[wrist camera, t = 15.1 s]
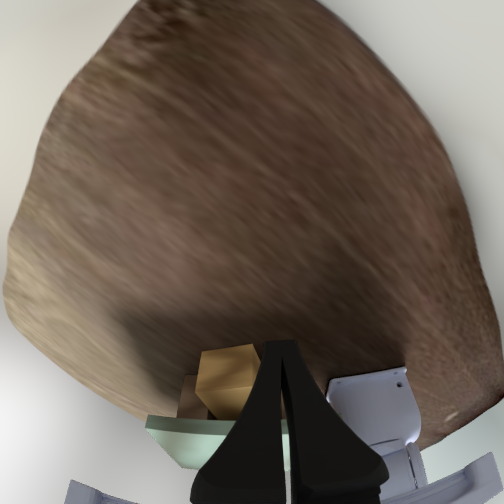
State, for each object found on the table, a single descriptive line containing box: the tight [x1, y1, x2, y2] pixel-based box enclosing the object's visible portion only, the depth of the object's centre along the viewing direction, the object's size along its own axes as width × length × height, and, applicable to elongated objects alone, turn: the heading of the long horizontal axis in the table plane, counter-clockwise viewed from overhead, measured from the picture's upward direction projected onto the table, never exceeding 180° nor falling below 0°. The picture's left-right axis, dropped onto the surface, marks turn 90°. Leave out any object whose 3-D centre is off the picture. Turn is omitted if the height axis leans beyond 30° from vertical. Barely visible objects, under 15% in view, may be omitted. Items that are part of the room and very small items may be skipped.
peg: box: [195, 344, 261, 421], centre depth 26 cm, size 5×12×5 cm, turn 16°
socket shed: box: [145, 375, 343, 471], centre depth 26 cm, size 17×12×8 cm
